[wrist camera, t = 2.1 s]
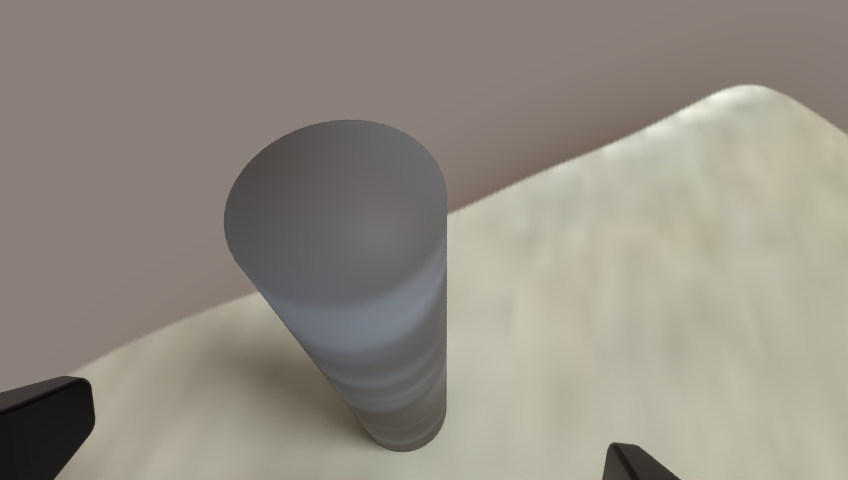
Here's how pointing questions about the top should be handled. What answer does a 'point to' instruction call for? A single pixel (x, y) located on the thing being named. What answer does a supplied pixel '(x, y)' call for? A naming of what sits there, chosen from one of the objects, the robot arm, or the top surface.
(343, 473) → the top surface
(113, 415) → the top surface
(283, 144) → the slate dowel
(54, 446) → the robot arm
